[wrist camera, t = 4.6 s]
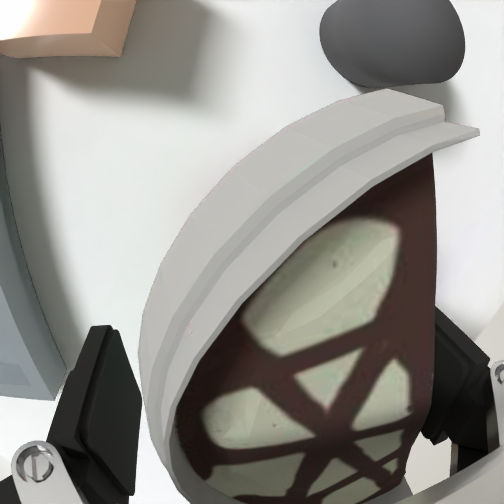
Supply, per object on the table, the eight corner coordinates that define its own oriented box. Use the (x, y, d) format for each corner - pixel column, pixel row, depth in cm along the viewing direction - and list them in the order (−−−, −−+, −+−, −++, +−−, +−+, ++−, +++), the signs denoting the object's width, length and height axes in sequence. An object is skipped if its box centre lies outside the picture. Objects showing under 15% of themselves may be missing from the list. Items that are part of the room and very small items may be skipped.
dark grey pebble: (402, 8, 11) (456, -11, 7) (409, 93, 12) (468, 92, 9) (315, -9, 10) (356, -46, 6) (322, 84, 12) (369, 72, 8)
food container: (125, 151, 12) (-48, 244, 2) (276, 104, 12) (473, 84, 3) (219, 379, 17) (246, 555, 7) (328, 345, 17) (412, 502, 8)
